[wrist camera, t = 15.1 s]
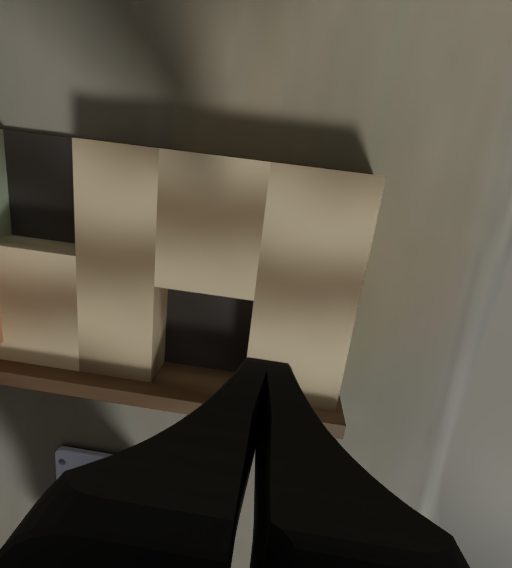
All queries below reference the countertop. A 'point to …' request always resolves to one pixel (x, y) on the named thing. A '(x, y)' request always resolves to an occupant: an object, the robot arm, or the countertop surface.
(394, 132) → the countertop surface
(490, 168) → the countertop surface
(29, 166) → the cubby shelf
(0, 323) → the block
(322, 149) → the countertop surface
